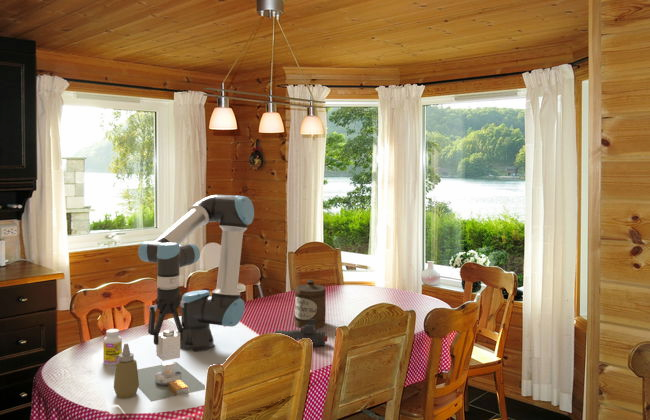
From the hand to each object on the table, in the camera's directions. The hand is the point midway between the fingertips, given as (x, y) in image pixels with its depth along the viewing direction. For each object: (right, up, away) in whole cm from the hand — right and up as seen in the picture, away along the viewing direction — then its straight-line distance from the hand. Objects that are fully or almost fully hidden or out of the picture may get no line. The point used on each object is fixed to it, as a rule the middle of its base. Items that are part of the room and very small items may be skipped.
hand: (168, 351), depth 206 cm
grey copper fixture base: (+2, -11, -2) cm, 12 cm away
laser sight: (+45, -9, +47) cm, 66 cm away
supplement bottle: (-27, -9, +19) cm, 34 cm away
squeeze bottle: (-11, -13, -11) cm, 20 cm away
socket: (0, -2, 0) cm, 2 cm away
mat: (-2, -11, +3) cm, 12 cm away
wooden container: (+48, -6, +77) cm, 90 cm away
